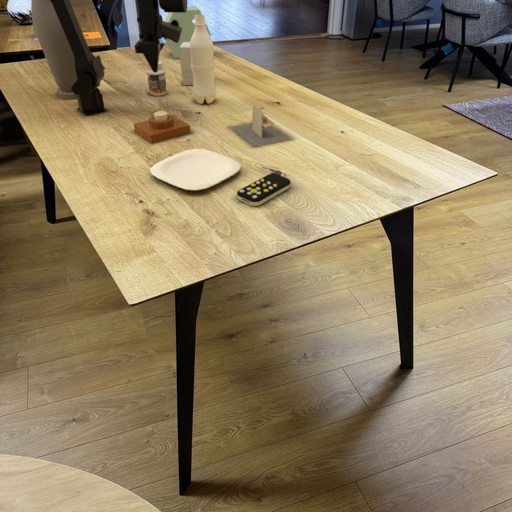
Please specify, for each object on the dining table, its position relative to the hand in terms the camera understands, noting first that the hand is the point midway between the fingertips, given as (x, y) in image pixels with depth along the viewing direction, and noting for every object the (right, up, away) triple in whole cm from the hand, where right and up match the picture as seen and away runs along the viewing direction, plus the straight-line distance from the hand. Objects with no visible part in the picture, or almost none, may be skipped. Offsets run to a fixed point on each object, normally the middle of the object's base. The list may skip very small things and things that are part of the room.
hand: (155, 72), depth 137 cm
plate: (+15, -34, -25) cm, 44 cm away
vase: (-32, +1, +21) cm, 38 cm away
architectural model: (+30, -19, -5) cm, 36 cm away
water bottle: (+13, -4, +15) cm, 20 cm away
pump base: (+3, -19, -5) cm, 20 cm away
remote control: (+31, -39, -32) cm, 59 cm away
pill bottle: (-4, +1, +22) cm, 22 cm away
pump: (+3, -16, -7) cm, 18 cm away
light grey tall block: (+7, +8, +31) cm, 33 cm away
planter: (0, +30, +61) cm, 68 cm away
